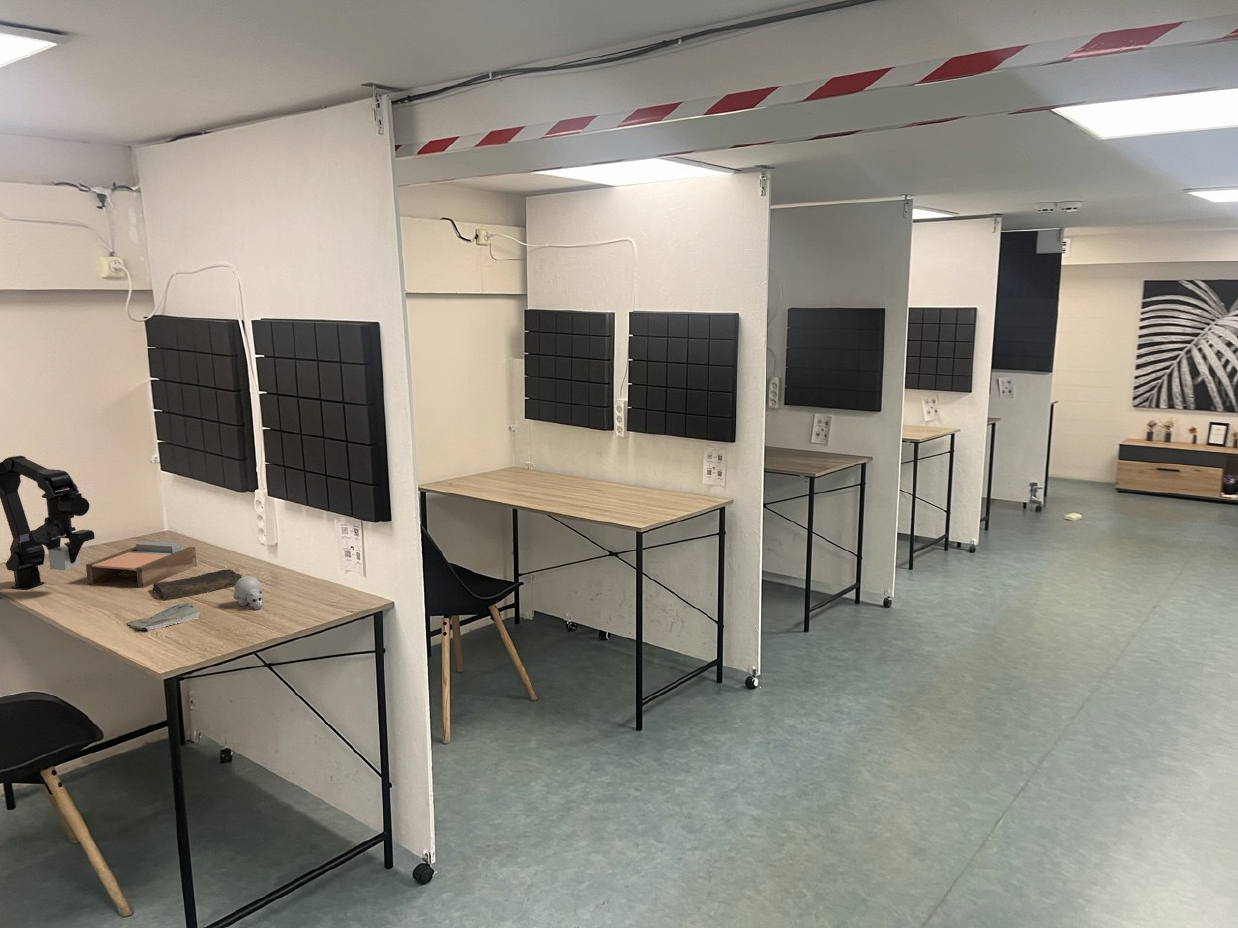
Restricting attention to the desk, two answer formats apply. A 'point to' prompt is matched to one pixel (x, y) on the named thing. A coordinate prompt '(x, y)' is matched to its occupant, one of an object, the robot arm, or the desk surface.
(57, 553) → the gray cube
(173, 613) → the fossil rock
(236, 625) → the desk surface
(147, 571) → the frame
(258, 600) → the chubby cartoon animal
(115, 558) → the trapdoor
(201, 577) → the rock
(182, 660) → the desk surface
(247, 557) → the desk surface
